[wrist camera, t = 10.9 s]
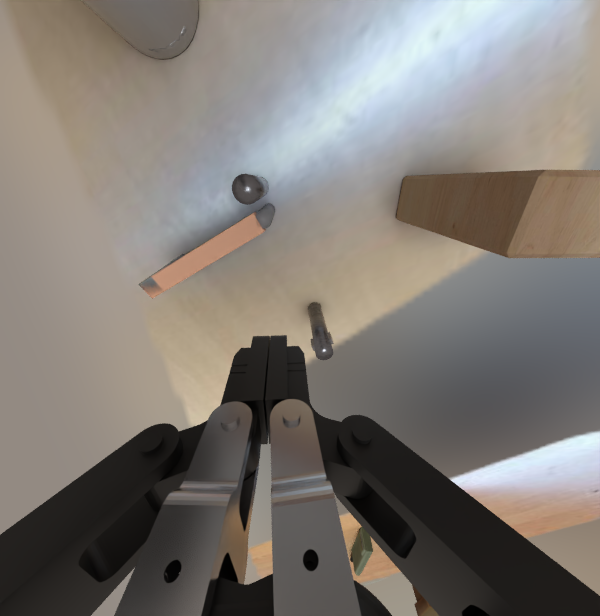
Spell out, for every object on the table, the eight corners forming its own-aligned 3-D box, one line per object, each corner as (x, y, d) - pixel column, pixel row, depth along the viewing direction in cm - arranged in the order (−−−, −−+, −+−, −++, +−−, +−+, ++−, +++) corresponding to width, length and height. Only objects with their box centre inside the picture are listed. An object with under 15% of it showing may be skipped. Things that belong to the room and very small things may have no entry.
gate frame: (245, 182, 31) (224, 182, 21) (264, 172, 31) (253, 167, 20) (309, 316, 41) (317, 363, 31) (324, 310, 41) (337, 355, 30)
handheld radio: (369, 525, 81) (355, 555, 93) (359, 524, 81) (347, 554, 93) (375, 552, 75) (359, 580, 87) (364, 551, 75) (350, 580, 87)
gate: (270, 199, 31) (264, 206, 23) (278, 213, 32) (275, 225, 24) (174, 259, 34) (138, 284, 26) (183, 271, 35) (152, 298, 27)
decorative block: (482, 176, 32) (716, 171, 15) (467, 221, 35) (651, 261, 17) (403, 174, 32) (548, 165, 14) (393, 219, 34) (507, 259, 17)
